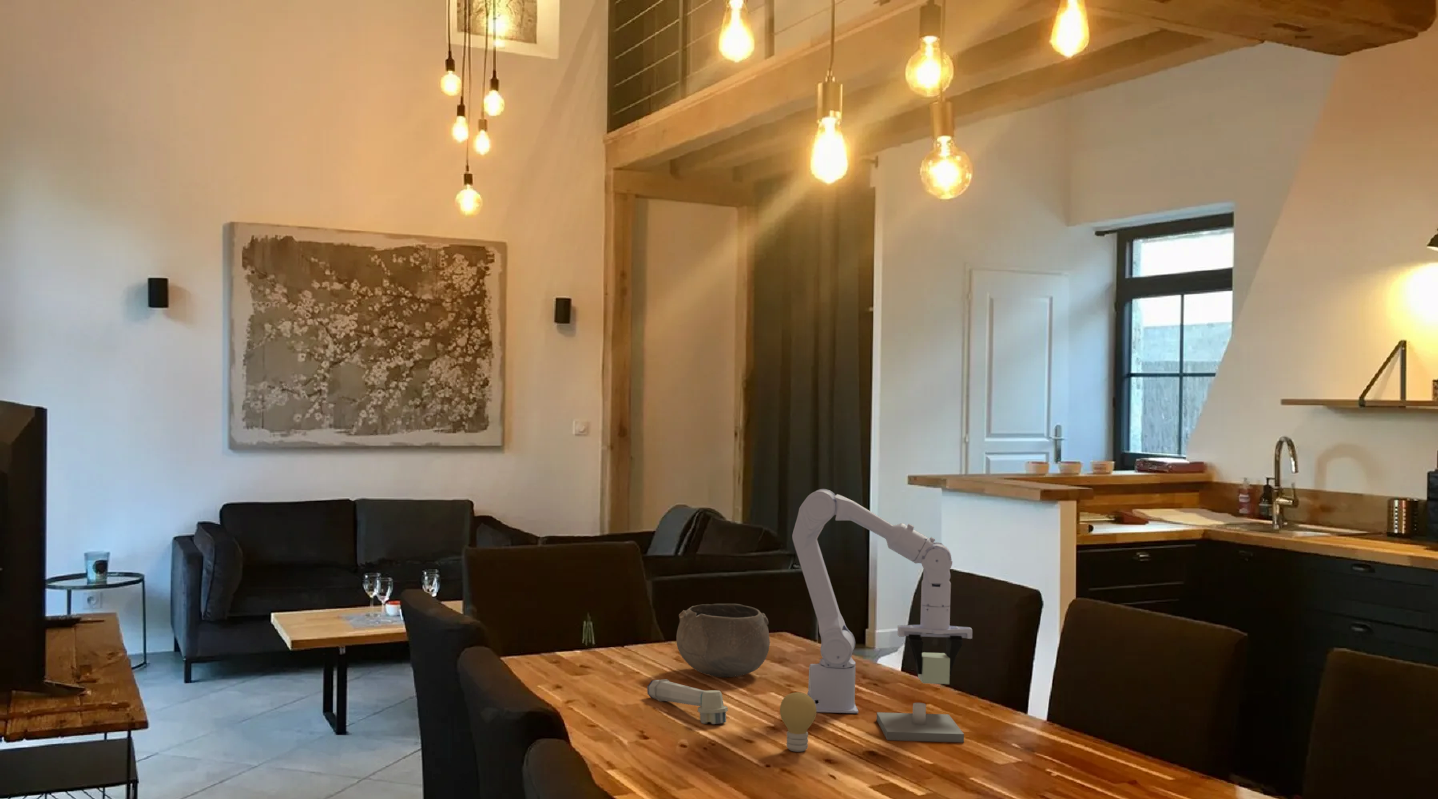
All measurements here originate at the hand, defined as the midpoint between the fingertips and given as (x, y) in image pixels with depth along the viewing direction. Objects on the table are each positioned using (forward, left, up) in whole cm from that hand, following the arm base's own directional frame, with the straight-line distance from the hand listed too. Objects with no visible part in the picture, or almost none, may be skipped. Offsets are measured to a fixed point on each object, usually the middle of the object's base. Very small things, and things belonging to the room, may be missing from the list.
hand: (933, 673), depth 228 cm
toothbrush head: (-49, -1, -9) cm, 50 cm away
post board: (-5, -11, -8) cm, 15 cm away
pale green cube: (0, 0, -1) cm, 1 cm away
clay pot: (-42, +32, -9) cm, 53 cm away
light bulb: (-29, -26, -9) cm, 40 cm away
